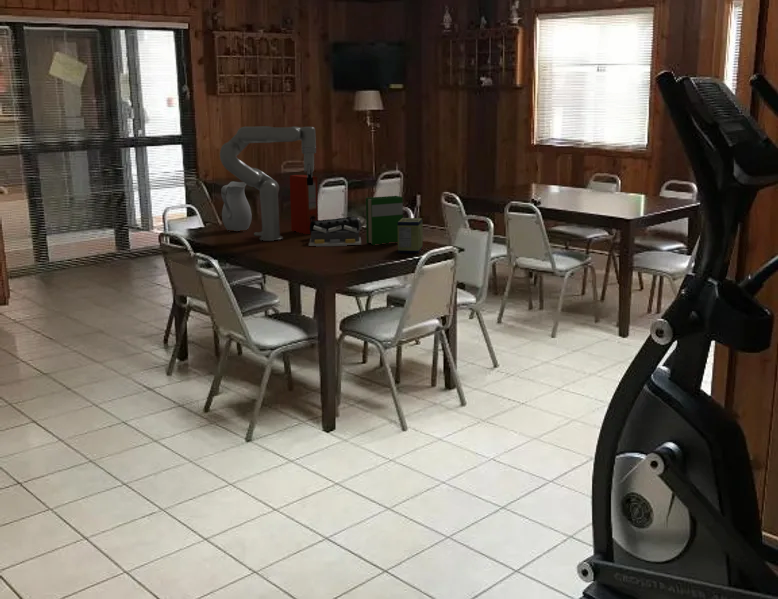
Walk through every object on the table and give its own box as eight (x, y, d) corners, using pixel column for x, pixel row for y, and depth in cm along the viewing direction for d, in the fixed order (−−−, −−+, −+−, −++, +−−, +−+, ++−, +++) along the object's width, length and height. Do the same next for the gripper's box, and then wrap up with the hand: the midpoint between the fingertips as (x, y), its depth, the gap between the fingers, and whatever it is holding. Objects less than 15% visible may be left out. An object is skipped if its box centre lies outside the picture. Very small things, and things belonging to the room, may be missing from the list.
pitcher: (232, 228, 502) (229, 180, 496) (257, 229, 497) (255, 181, 490) (211, 234, 481) (207, 184, 474) (237, 235, 475) (234, 185, 468)
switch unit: (308, 246, 436) (308, 234, 435) (310, 240, 455) (310, 228, 454) (361, 245, 437) (360, 233, 436) (360, 239, 456) (360, 227, 455)
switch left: (313, 229, 442) (313, 226, 442) (313, 227, 448) (314, 224, 447) (325, 233, 443) (326, 230, 443) (325, 231, 448) (326, 228, 448)
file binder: (303, 229, 492) (301, 174, 484) (318, 233, 478) (317, 176, 470) (291, 231, 487) (289, 175, 480) (306, 235, 473) (304, 177, 466)
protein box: (422, 248, 427) (422, 217, 423) (418, 254, 412) (418, 222, 408) (402, 248, 429) (402, 217, 425) (397, 253, 414) (397, 222, 410)
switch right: (343, 228, 443) (344, 226, 443) (343, 227, 448) (344, 224, 448) (356, 232, 444) (356, 229, 443) (356, 230, 449) (356, 228, 449)
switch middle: (328, 232, 443) (328, 229, 443) (329, 230, 448) (328, 228, 448) (341, 229, 443) (340, 226, 442) (341, 227, 448) (340, 224, 448)
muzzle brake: (309, 238, 463) (308, 219, 461) (353, 233, 478) (352, 215, 476) (318, 240, 455) (317, 221, 453) (362, 235, 470) (361, 216, 468)
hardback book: (372, 245, 436) (371, 199, 431) (366, 243, 443) (365, 197, 437) (403, 242, 444) (402, 197, 438) (396, 240, 450) (396, 195, 445)
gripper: (302, 149, 456) (303, 183, 461) (301, 151, 442) (302, 186, 446) (316, 149, 457) (317, 183, 461) (315, 151, 442) (316, 186, 446)
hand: (310, 185), depth 454 cm, fingers closed
